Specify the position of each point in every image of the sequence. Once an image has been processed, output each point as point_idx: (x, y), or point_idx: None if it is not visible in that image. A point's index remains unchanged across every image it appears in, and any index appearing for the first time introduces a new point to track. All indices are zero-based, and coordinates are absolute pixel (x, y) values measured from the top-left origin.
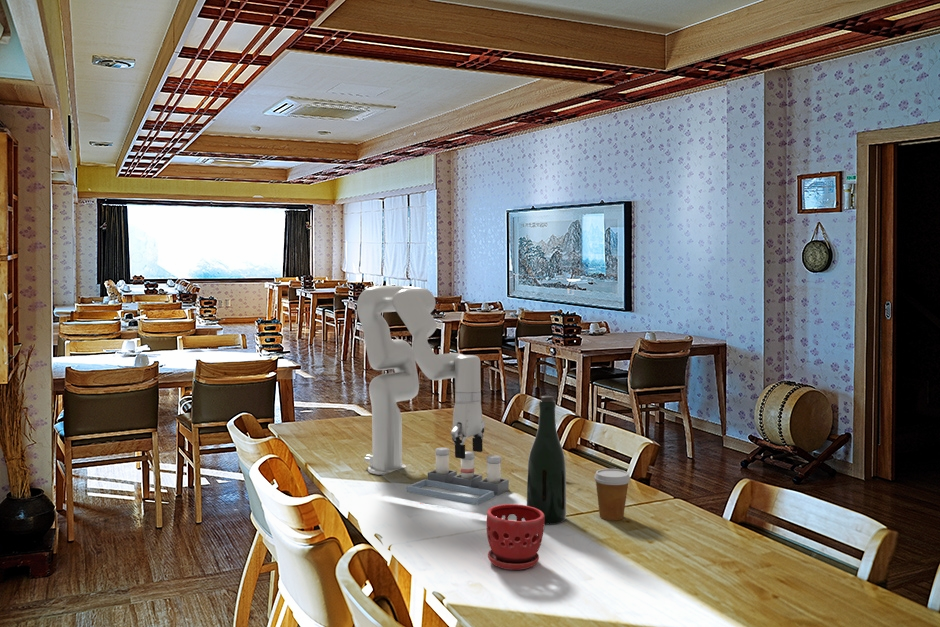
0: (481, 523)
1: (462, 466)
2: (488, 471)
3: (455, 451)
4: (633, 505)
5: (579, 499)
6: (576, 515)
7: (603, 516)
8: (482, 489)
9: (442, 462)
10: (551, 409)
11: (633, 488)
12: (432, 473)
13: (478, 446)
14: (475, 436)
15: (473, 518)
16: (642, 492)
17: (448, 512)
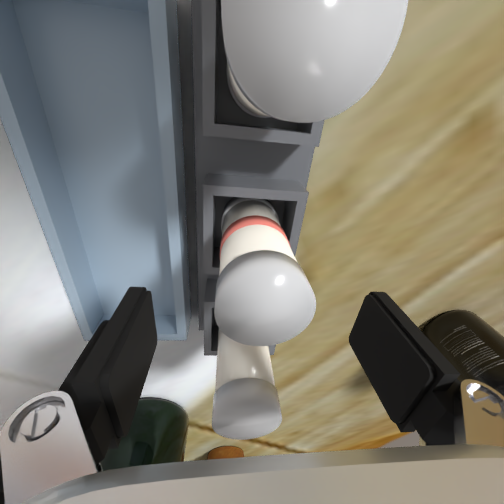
0: (25, 359)
1: (221, 253)
2: (218, 357)
3: (111, 321)
4: (294, 452)
5: (295, 410)
6: (203, 431)
7: (208, 457)
8: (183, 310)
9: (236, 85)
10: None
11: (387, 433)
12: (205, 14)
13: (369, 355)
14: (441, 417)
15: (36, 334)
16: (366, 443)
17: (11, 267)
